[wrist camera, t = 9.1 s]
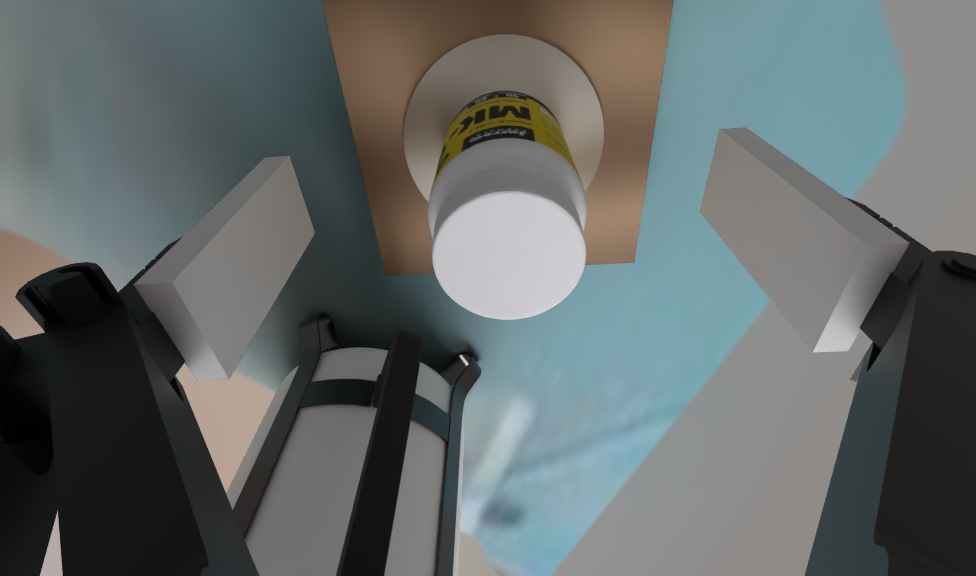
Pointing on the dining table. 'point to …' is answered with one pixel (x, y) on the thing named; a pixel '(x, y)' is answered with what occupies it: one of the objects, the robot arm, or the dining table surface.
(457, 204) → the supplement bottle
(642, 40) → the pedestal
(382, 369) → the coffee press
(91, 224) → the dining table surface
